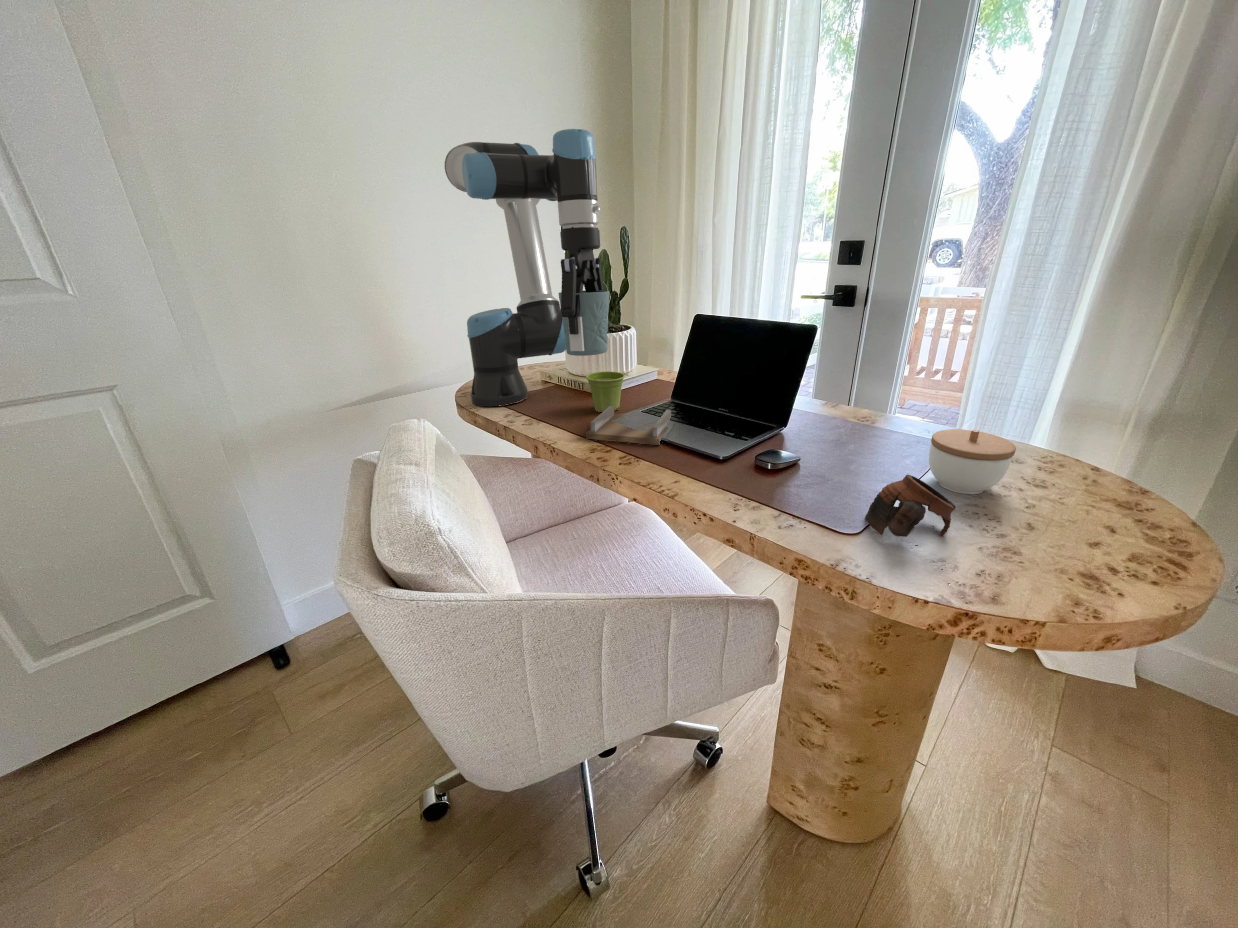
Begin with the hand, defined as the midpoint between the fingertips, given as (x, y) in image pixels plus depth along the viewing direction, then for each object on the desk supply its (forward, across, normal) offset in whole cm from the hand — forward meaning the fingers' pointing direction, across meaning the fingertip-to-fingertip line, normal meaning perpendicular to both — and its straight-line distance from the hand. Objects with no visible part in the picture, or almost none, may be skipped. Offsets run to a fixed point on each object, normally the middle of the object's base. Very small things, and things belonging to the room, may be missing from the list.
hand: (587, 346), depth 102 cm
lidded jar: (+20, -9, -68) cm, 71 cm away
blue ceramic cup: (+1, 0, 0) cm, 1 cm away
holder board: (+18, +1, -9) cm, 20 cm away
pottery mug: (+20, -26, -58) cm, 66 cm away
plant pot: (+18, +15, +3) cm, 24 cm away
